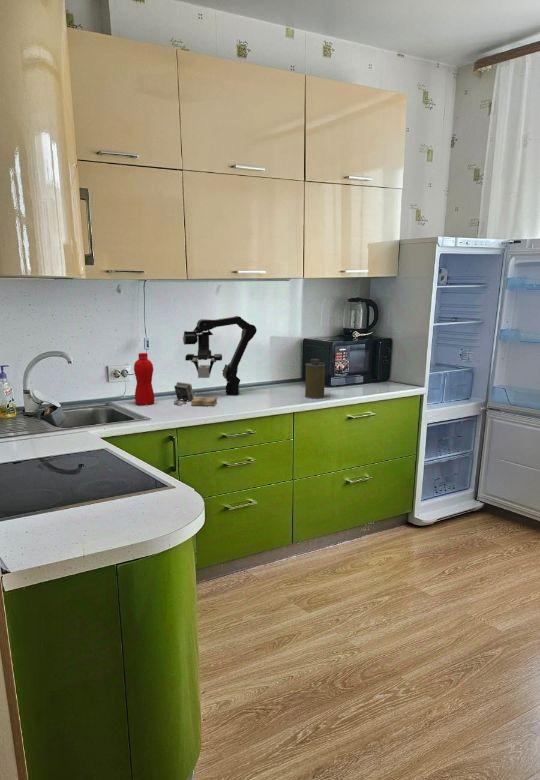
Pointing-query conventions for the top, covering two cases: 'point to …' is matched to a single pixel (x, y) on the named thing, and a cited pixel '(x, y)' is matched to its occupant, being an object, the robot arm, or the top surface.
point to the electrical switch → (184, 391)
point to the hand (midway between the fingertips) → (204, 373)
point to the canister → (315, 379)
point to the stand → (203, 401)
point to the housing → (203, 371)
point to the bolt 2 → (181, 402)
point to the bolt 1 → (177, 403)
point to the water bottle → (144, 380)
